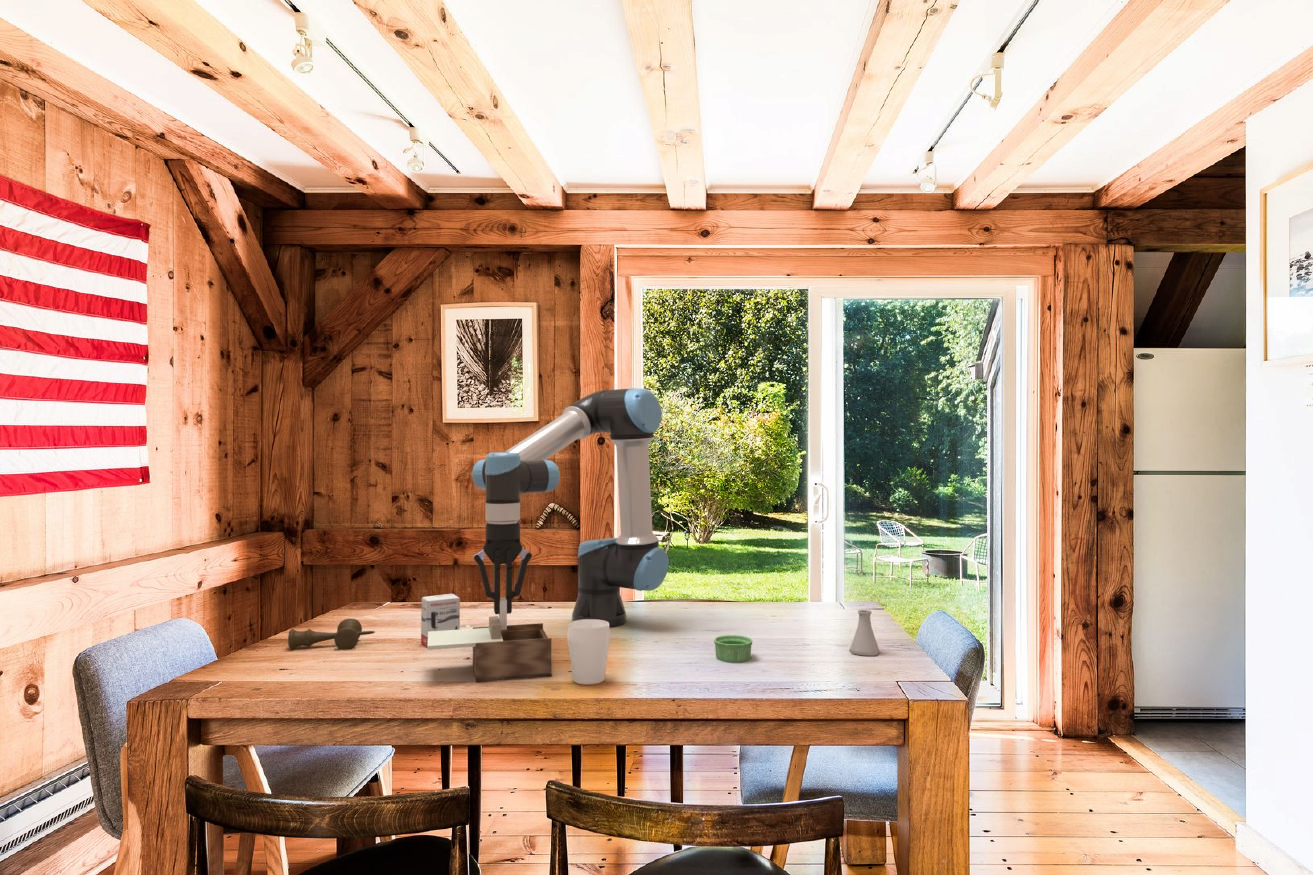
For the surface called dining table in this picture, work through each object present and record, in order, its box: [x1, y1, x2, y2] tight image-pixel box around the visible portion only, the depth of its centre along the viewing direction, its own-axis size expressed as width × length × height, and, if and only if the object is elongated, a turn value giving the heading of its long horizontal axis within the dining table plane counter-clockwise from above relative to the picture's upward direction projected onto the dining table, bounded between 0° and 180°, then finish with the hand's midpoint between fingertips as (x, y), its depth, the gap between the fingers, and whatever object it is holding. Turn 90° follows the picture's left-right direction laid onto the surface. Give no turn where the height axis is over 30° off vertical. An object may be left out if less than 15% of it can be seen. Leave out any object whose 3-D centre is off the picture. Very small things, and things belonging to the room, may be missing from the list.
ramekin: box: [713, 634, 753, 663], centre depth 190 cm, size 9×9×4 cm
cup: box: [566, 619, 611, 686], centre depth 172 cm, size 9×9×12 cm
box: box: [472, 622, 553, 683], centre depth 180 cm, size 16×15×8 cm
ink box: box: [420, 593, 461, 648], centre depth 203 cm, size 8×5×12 cm, turn 123°
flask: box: [849, 609, 881, 657], centre depth 194 cm, size 7×7×10 cm
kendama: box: [287, 618, 376, 651], centre depth 201 cm, size 6×10×20 cm
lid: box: [426, 615, 503, 651], centre depth 178 cm, size 16×13×4 cm
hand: (502, 628), depth 180 cm, fingers closed
